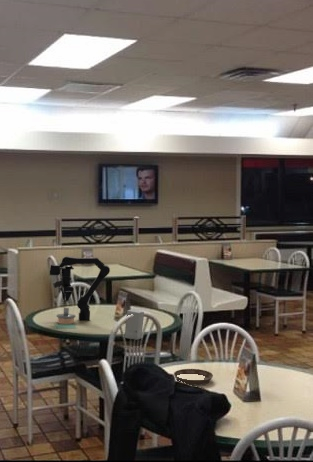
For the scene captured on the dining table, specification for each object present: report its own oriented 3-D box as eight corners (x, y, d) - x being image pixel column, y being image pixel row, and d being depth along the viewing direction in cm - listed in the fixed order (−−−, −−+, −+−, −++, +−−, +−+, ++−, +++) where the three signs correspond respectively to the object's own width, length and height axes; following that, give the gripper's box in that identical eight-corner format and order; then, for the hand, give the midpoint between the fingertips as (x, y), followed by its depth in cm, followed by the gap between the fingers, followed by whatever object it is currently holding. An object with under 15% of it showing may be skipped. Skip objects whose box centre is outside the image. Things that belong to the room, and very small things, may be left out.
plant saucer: (176, 386, 273) (177, 379, 272) (171, 374, 290) (171, 368, 290) (216, 386, 275) (216, 380, 274) (208, 375, 292) (208, 368, 292)
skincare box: (124, 338, 358) (125, 310, 357) (130, 335, 364) (131, 308, 363) (137, 340, 354) (138, 312, 353) (143, 337, 360) (144, 310, 359)
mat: (73, 324, 386) (73, 324, 386) (76, 329, 375) (76, 328, 375) (54, 325, 383) (54, 324, 383) (56, 329, 371) (56, 328, 371)
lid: (73, 314, 398) (74, 306, 398) (76, 318, 387) (77, 309, 386) (55, 314, 395) (55, 306, 394) (57, 318, 383) (58, 310, 383)
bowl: (72, 321, 397) (72, 315, 397) (74, 324, 388) (74, 318, 387) (57, 321, 394) (57, 315, 394) (59, 324, 385) (59, 318, 385)
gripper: (50, 274, 405) (49, 298, 405) (56, 278, 387) (55, 303, 388) (67, 274, 408) (66, 297, 409) (74, 278, 391) (73, 302, 392)
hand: (65, 300), depth 400 cm, fingers open, 9 cm apart
